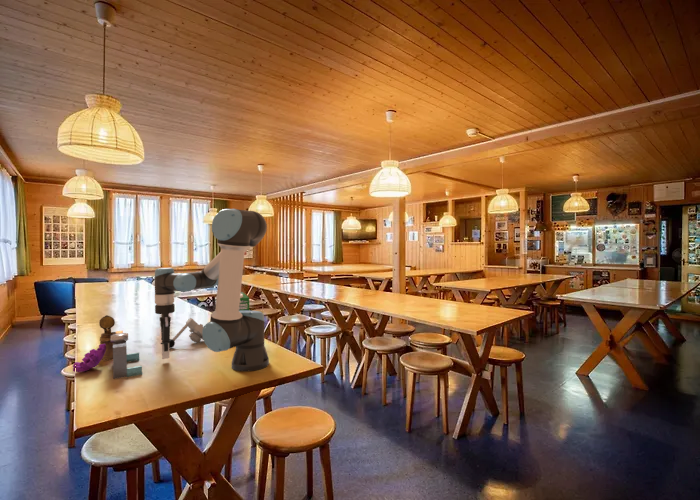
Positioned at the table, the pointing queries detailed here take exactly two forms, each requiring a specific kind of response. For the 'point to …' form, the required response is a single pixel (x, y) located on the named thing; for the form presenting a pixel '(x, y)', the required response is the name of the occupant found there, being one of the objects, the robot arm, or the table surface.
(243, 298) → the milk carton
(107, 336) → the brown disc topped figure
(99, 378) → the table surface
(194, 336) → the valve
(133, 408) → the table surface
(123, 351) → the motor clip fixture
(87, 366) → the purple toothed curved piece
